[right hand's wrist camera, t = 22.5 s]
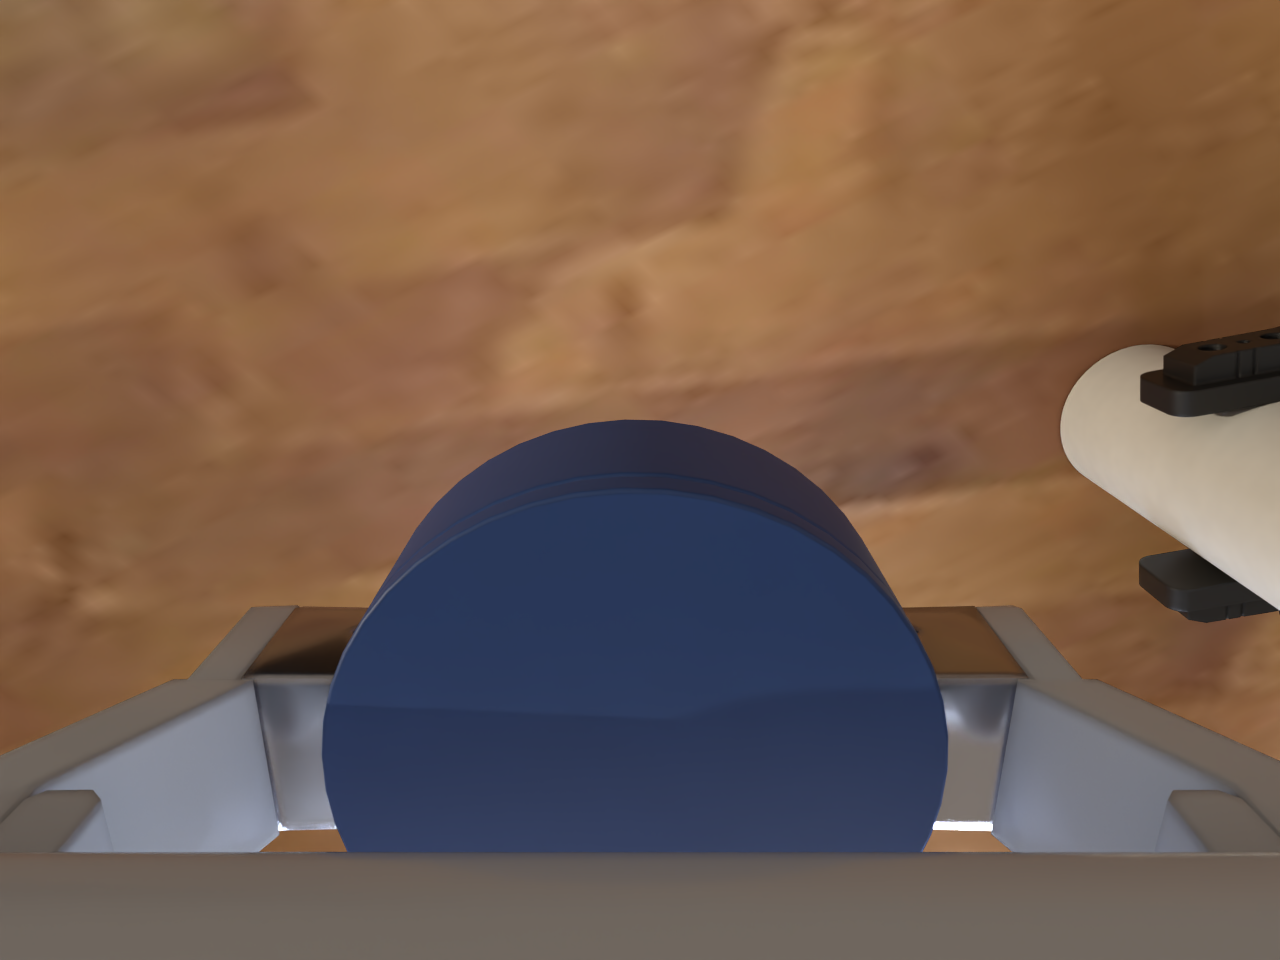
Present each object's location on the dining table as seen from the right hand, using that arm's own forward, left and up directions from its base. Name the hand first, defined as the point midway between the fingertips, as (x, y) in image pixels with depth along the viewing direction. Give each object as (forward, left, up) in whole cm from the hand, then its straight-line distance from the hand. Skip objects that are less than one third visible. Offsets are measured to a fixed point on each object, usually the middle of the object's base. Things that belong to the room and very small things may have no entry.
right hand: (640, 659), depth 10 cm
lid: (0, 0, +2) cm, 2 cm away
